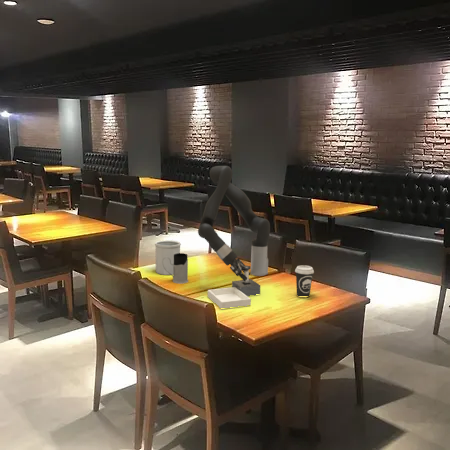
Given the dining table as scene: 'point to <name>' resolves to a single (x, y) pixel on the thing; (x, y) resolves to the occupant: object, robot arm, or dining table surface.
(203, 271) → the dining table surface
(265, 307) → the dining table surface
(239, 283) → the bracket
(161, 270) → the utensil holder
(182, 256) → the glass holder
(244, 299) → the plastic tray
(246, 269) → the steel pin
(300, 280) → the coffee cup
